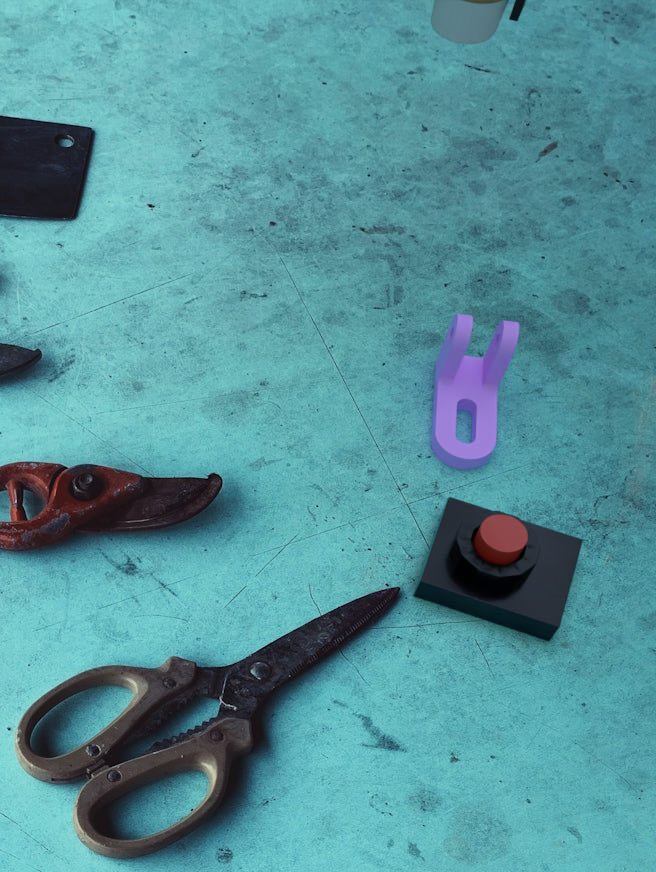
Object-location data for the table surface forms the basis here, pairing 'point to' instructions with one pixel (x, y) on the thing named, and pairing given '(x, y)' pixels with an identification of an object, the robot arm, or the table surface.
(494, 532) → the button
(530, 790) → the table surface
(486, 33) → the coffee cup
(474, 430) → the bracket
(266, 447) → the table surface
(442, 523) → the switch box
